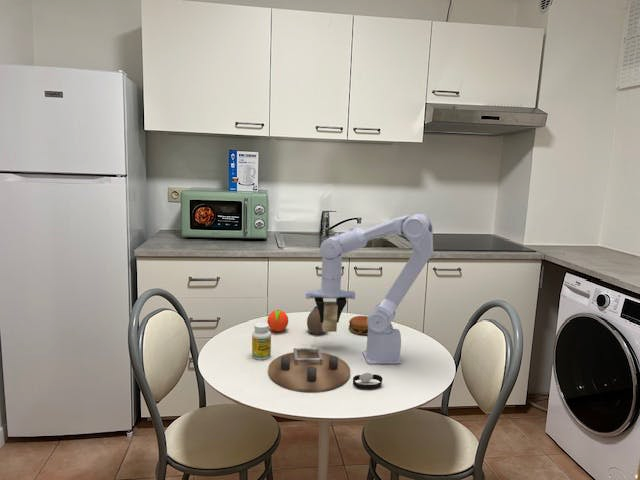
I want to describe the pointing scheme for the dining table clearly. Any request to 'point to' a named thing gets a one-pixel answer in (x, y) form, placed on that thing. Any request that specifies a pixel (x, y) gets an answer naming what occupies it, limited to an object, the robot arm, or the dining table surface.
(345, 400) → the dining table surface
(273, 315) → the clementine
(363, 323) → the burger
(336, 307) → the stool leg
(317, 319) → the vase
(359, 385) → the watch
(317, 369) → the stool seat
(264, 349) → the supplement bottle
